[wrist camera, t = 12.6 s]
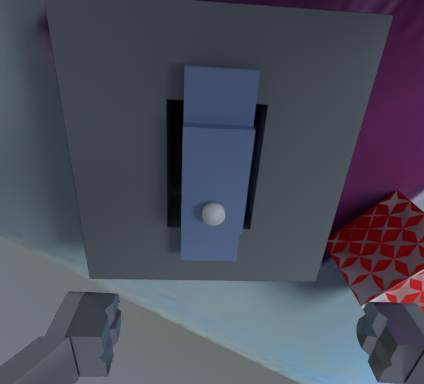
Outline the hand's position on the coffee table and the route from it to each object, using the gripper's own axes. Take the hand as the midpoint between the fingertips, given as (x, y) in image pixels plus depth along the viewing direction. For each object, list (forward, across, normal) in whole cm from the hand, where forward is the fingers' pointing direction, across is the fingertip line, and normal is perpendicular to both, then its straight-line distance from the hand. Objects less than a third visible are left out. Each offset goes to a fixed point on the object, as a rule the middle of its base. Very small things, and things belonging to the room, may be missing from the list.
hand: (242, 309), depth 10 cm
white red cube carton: (+17, -16, +10) cm, 25 cm away
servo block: (+16, +1, +1) cm, 17 cm away
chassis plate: (+16, +1, 0) cm, 16 cm away
